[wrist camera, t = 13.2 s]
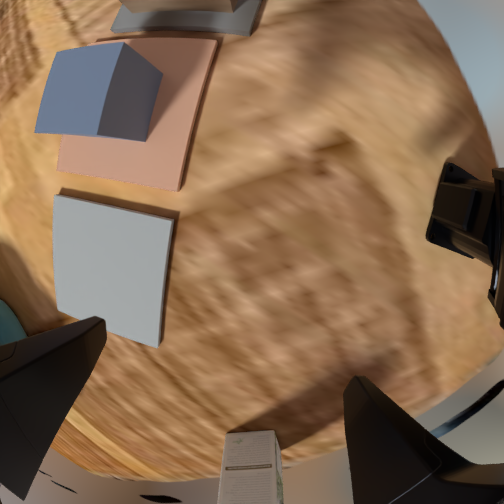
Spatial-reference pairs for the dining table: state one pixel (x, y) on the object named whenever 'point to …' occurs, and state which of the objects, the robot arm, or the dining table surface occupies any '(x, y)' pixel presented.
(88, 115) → the block
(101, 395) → the dining table surface
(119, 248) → the grey mat
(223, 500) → the syrup box
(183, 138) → the terracotta mat
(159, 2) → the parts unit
